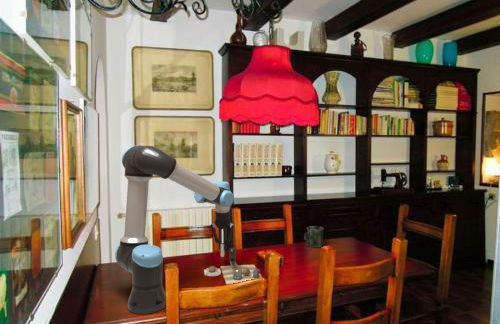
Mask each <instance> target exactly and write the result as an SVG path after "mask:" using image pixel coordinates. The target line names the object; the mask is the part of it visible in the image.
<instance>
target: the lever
mask: <svg viewBox="0 0 500 324" xmlns="http://www.w3.org/2000/svg"><path fill="white" fill-rule="evenodd" d="M229 264H230V266H231V267H232V269H233V271H234V273H235V276H241V275H242V267H241V266H238V263H237V262H236V248H235V247H230V248H229Z"/></svg>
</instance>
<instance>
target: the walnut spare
mask: <svg viewBox="0 0 500 324" xmlns="http://www.w3.org/2000/svg"><path fill="white" fill-rule="evenodd" d="M208 268H209V272H210V273H214V272H215V271H216V268H217V267H216V266H215V265H210V266H209V267H208Z"/></svg>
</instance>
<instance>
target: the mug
mask: <svg viewBox="0 0 500 324" xmlns="http://www.w3.org/2000/svg"><path fill="white" fill-rule="evenodd" d="M306 229H307V232H304V237H303V238H304V241H305V242H306V244H307V247H309V248H313V247H320V248H322V247H323V246H324V229H325V228H324V226H317V225H311V226H310V225H309V226H307V227H306Z"/></svg>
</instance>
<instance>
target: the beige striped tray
mask: <svg viewBox="0 0 500 324" xmlns="http://www.w3.org/2000/svg"><path fill="white" fill-rule="evenodd" d="M237 265H238V264H237ZM238 266H241V267H242V275H241V276H235V273H234V271H233V269H232V267H231V265H221V266H220V268H219V269H220V271H221V274H222V275H223V279H224V281H225V285H234V284H233V283H238V282H242V281H246V280H251V279H257V278H263V277H262V274H261V273H260V269H259V268H257V267H256V266H255V264H241V265H238ZM245 268H248V269H249V270H250V274H249V275H248V276H245V275H244V274H243V270H244V269H245Z"/></svg>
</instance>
